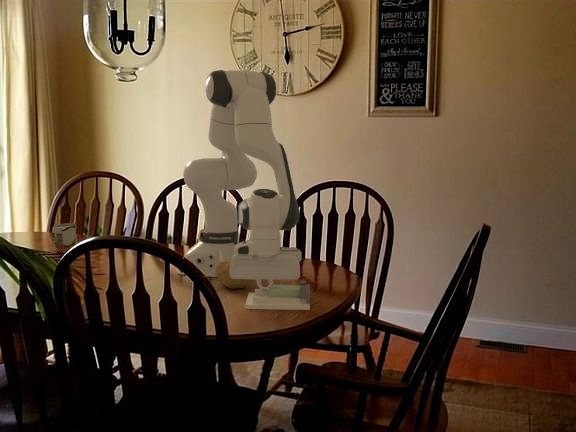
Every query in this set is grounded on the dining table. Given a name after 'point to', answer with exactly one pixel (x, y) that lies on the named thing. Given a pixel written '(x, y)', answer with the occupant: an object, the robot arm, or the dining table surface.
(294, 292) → the green block
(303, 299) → the beige shallow tray
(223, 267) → the potato
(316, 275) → the dining table surface
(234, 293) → the dining table surface
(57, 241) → the food container
